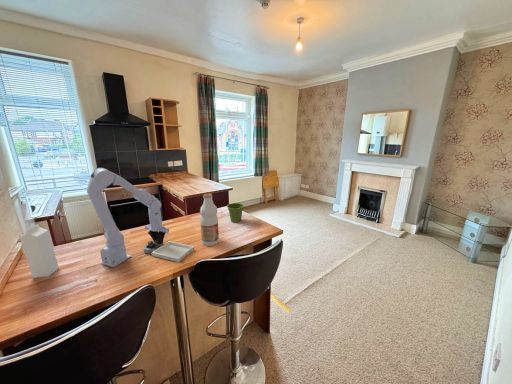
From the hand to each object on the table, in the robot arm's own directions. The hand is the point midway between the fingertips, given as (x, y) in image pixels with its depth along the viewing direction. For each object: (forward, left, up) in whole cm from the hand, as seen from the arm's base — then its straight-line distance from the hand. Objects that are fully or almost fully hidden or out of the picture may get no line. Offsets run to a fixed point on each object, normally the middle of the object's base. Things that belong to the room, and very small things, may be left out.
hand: (158, 242), depth 114 cm
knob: (-5, 0, -1) cm, 5 cm away
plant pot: (+45, -26, -2) cm, 52 cm away
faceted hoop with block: (-3, 0, -1) cm, 4 cm away
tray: (-3, -12, -1) cm, 13 cm away
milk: (-35, +28, -2) cm, 45 cm away
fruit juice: (+13, -24, -2) cm, 28 cm away
